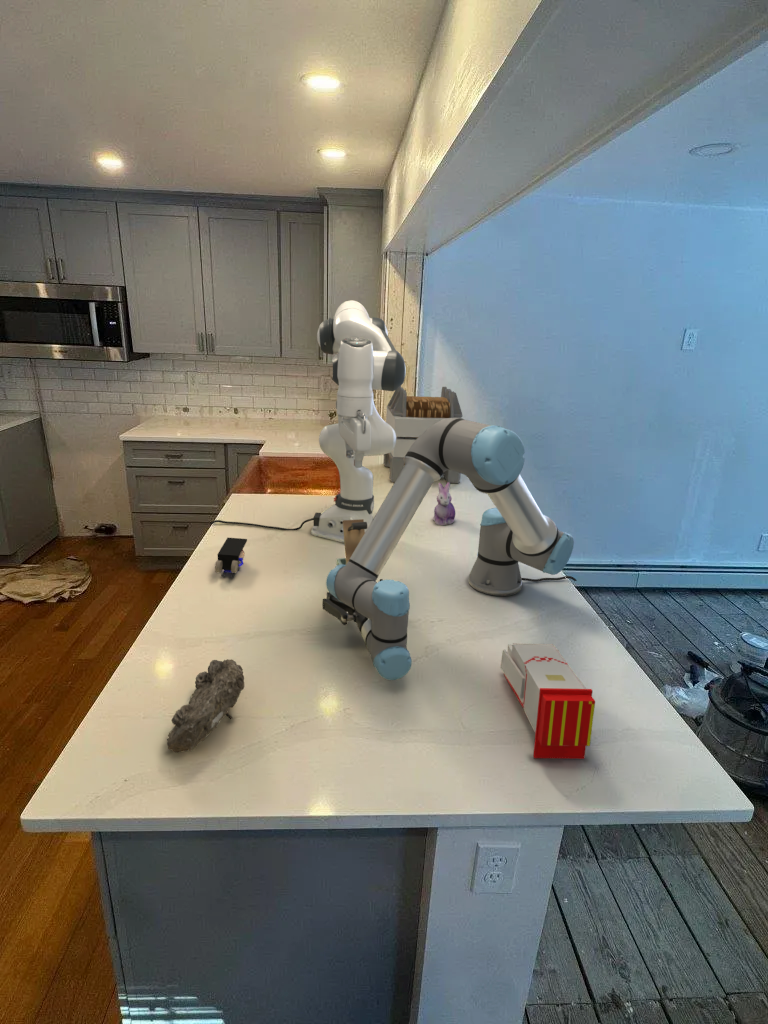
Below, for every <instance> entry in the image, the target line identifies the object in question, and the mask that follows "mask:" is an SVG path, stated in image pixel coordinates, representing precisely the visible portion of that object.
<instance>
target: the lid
mask: <svg viewBox="0 0 768 1024" xmlns="http://www.w3.org/2000/svg"><path fill="white" fill-rule="evenodd" d="M364 529H367V522H364V519H359V520H343V533H344V543H343V545H344V554H345V558H346V564H347V563H348V561H349V559H350V557H351V556H352V554H353V552H354V551H355V549H356V547H357V546H358V544H359V542H360V540H361V539H362V537H363V535H364V534H365V530H364Z"/></svg>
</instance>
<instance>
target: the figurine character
mask: <svg viewBox="0 0 768 1024" xmlns="http://www.w3.org/2000/svg"><path fill="white" fill-rule="evenodd" d="M247 542H248V538H240V537H226V539H225V541H224V543H223V544H222V546H221V547H220V549H219V551H218V552H217V560H216V562H215V564H214V572H215V573H221V577H222V578H224V577H225V576H226V574H227V573H230V574H231V573H232V574H231V578H234V577H235V575H236V573H237V572H239V571H240V567H242V566H243V565H244V564H245V562H244V558H245V551H244V547H245V546H246V544H247Z"/></svg>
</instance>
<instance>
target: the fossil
mask: <svg viewBox="0 0 768 1024" xmlns="http://www.w3.org/2000/svg"><path fill="white" fill-rule="evenodd" d="M243 670H244V669H243V667H242V665H240V664H237V662H236V661H235V660H234V659H232V658H231V659H227V658H226V659H224V660H223V661H222V660H217V659H212V660H211V661H210V663H209V665H208V666H207V671H201V672H199V673H198V674H197V675H196V676H195V680H194V684H195V685H194V687H195V689H194V690H193V693H192V694H191V697H190V698H189V700H188V704H184V705H182V706H181V707H180V709H177V710H176V711H175V713H174V715H173V716H172V718H171V723H172V724H173V727H172V730H171V731H170V732H168V734H167V738H166V741H167V742H166V745H167V749H168V750H169V751H173V752H174V753H176V754H178V753H182V752H188V751H189V752H192V751H193V750H195V748H196V747H197V746H199V744H200V743H201V742H203V741H204V740H205V739H206V738H207V737H208V736H209V735H210V734H211V733H212V732H214V730H215V729H217V727H218V726H219V724H220V722H221V721H222V720H223V719H224V718H225V716H226V717H227V719H229V720H233V717H232V715H230V714H229V710H230V709H231V708H234V706H235V704H236V703H237V702H238V699H239V697H240V695H241V693H242V691H243V690H245V689H244V688H245V675H244V671H243Z"/></svg>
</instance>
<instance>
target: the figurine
mask: <svg viewBox="0 0 768 1024" xmlns="http://www.w3.org/2000/svg"><path fill="white" fill-rule="evenodd" d="M437 485H438V494H437V496H436V502H437V504H436V506H435V507H434V510H433V513H434V514H433V522H434V523H435V525H439V526H446V525H451V524H453V523H454V522H455V518H456V509H455V506H454V505H453V503H452V499H453V498H452V495H451V493H450V489H451V483H449V482H447V483H446V484H445V486H444V485H443V484H442V483H441V482H438V484H437Z"/></svg>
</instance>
